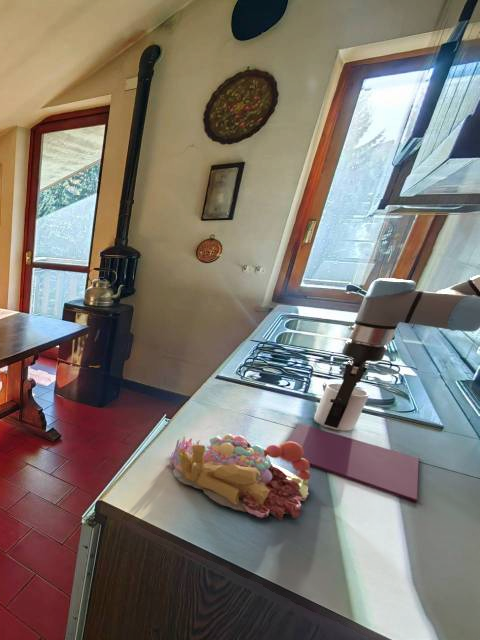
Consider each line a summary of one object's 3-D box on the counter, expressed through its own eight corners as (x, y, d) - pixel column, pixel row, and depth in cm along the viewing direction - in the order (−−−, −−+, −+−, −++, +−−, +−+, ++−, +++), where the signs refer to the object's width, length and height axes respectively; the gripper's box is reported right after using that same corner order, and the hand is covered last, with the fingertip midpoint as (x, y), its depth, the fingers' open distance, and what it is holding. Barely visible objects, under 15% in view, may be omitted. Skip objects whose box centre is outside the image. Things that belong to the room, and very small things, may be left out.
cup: (311, 423, 105) (325, 389, 101) (315, 410, 113) (328, 377, 109) (352, 434, 100) (369, 399, 96) (354, 419, 108) (369, 386, 104)
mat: (417, 460, 89) (419, 458, 89) (415, 502, 75) (417, 499, 75) (298, 425, 104) (299, 423, 104) (278, 454, 90) (279, 452, 90)
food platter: (296, 541, 65) (316, 497, 62) (153, 480, 80) (163, 442, 77) (311, 478, 82) (327, 440, 79) (190, 437, 97) (200, 404, 94)
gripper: (353, 331, 108) (324, 401, 116) (340, 348, 93) (308, 427, 101) (391, 337, 103) (357, 410, 111) (384, 355, 87) (346, 438, 96)
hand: (334, 418), depth 106 cm, fingers closed on cup, 12 cm apart
